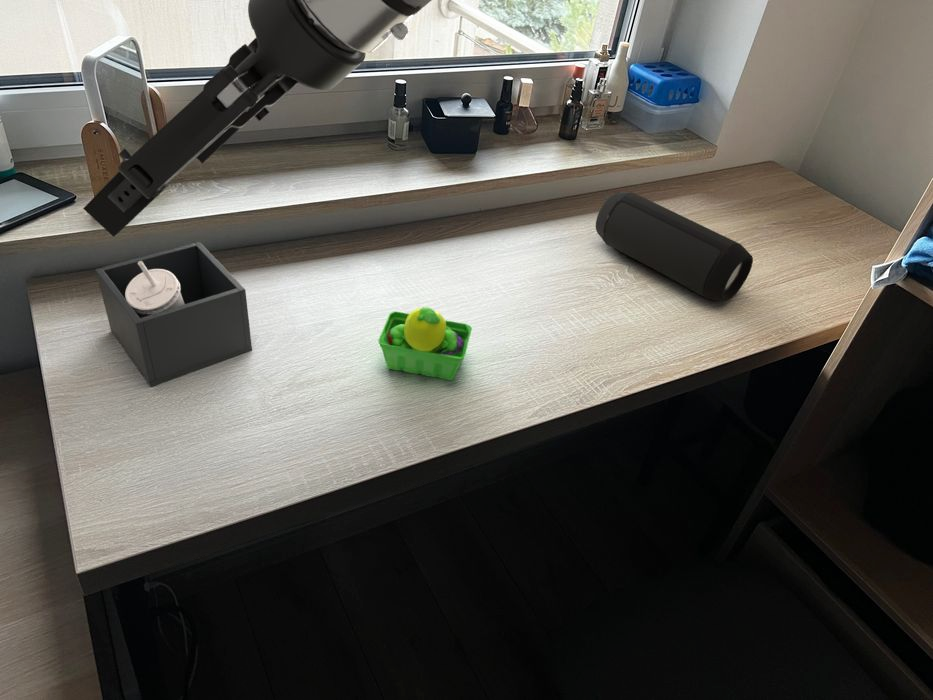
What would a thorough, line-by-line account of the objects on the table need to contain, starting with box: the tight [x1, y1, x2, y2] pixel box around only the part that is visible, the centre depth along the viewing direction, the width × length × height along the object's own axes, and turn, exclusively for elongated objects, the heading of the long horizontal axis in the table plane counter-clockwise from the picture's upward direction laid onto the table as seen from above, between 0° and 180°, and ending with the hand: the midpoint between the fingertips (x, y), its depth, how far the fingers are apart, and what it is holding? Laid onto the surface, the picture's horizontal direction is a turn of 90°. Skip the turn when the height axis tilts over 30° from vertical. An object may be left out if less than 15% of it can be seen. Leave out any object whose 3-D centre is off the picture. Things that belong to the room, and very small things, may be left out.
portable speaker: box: [595, 191, 754, 302], centre depth 121 cm, size 26×10×10 cm, turn 44°
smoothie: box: [125, 261, 185, 317], centre depth 90 cm, size 6×6×14 cm
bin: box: [95, 241, 253, 388], centre depth 94 cm, size 14×14×10 cm
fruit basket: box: [378, 306, 473, 381], centre depth 94 cm, size 11×9×11 cm
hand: (150, 182), depth 57 cm, fingers open, 13 cm apart
